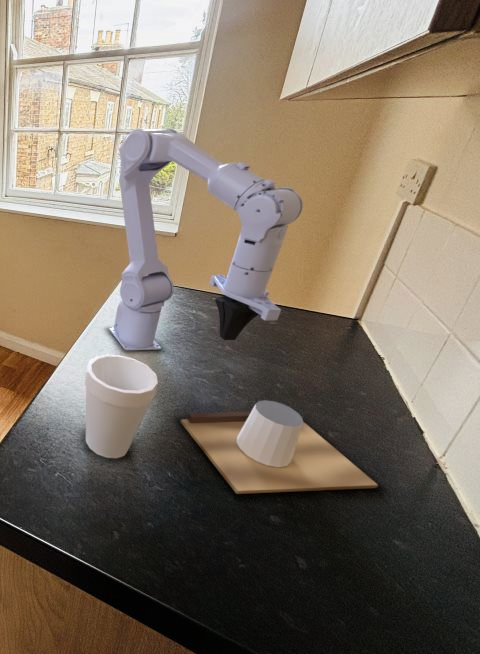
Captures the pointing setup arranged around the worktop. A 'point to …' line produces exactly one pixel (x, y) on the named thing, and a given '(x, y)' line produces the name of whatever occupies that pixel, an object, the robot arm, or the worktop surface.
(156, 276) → the robot arm
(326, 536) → the worktop surface
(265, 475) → the board
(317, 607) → the worktop surface
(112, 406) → the foam cup
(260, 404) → the white faceted cup
